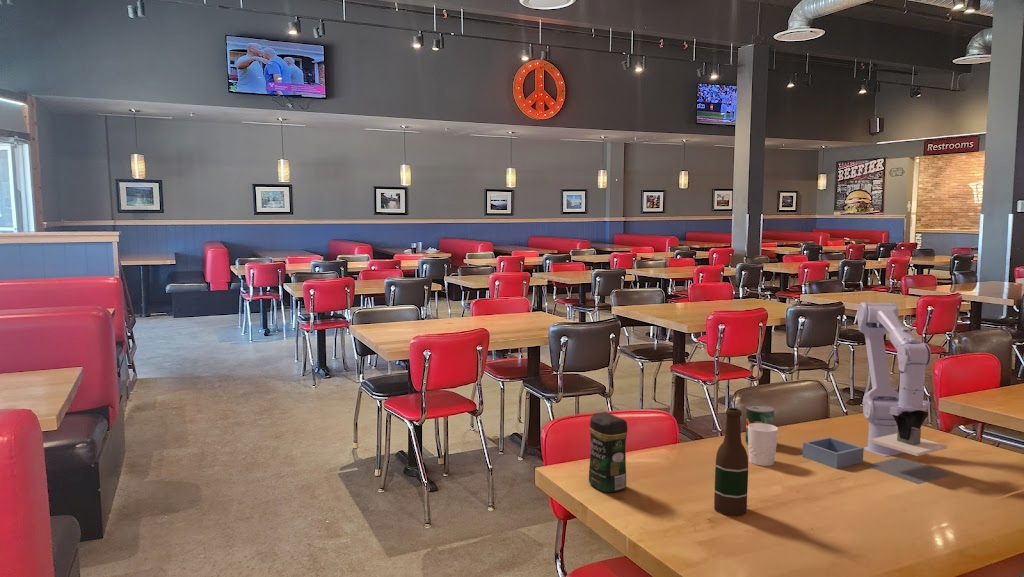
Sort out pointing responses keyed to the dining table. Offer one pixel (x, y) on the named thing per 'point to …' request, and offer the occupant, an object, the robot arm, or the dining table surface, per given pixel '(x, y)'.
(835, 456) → the open box
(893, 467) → the mat
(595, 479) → the coffee jar
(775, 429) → the white cup
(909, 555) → the dining table surface
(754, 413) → the canned tomato
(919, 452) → the lid
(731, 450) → the beer bottle
